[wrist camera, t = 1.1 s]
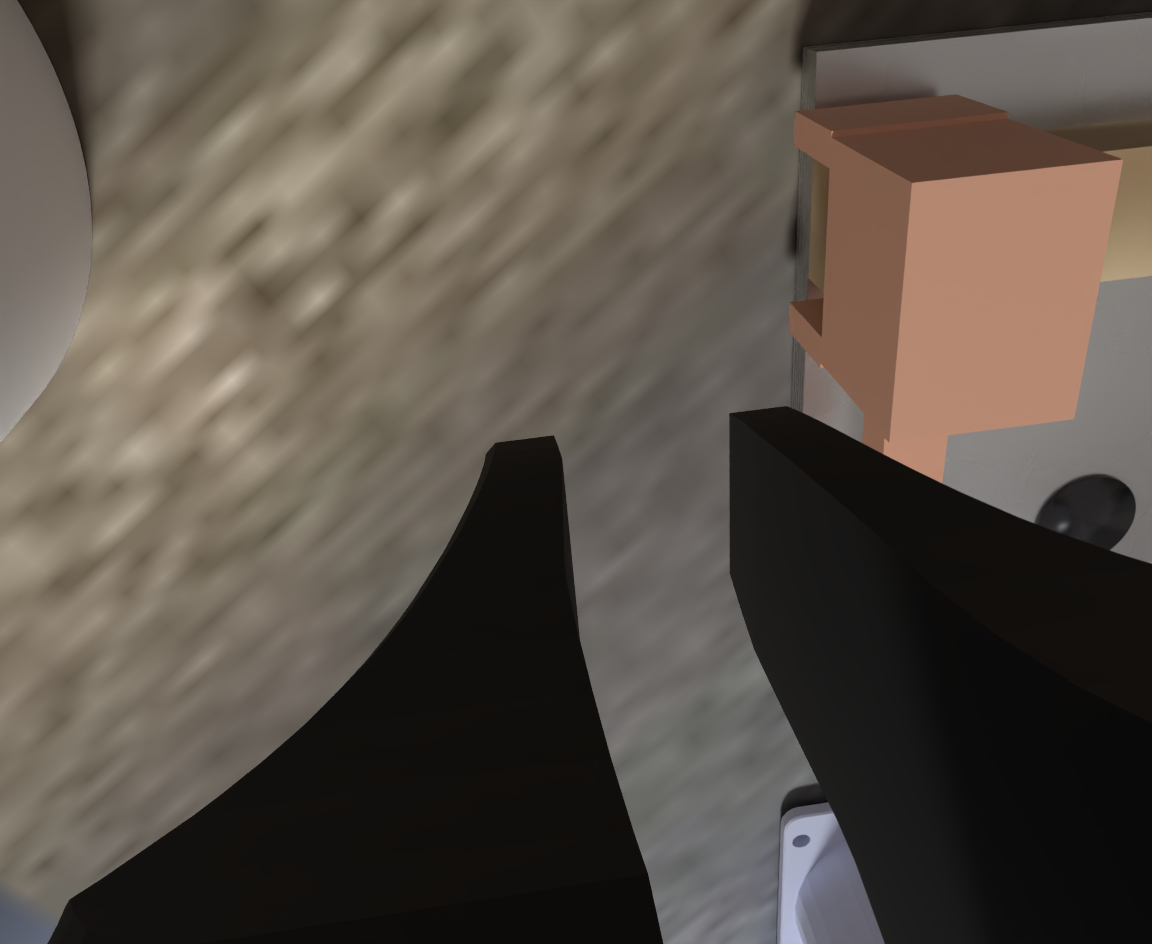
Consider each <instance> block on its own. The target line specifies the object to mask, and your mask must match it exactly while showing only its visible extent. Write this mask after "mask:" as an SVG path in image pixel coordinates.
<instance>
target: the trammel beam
mask: <svg viewBox="0 0 1152 944" xmlns="http://www.w3.org/2000/svg"><path fill="white" fill-rule="evenodd" d="M1042 131H1045V132H1047V133H1050V134H1053V135H1056V136H1059V137H1062V138H1064V139H1067V140H1070V141H1073V142H1076V143H1079V144H1081V145H1084V146H1087V147H1090V148H1093V149H1095V150H1098V151H1101V152H1104V153H1107V154H1110V155H1112V156H1115V157H1118V158H1121V159H1123V164H1122V169H1121V174H1120V180H1119V185H1118V190H1117V196H1116V201H1115V206H1114V211H1113V217H1112V222H1111V227H1110V233H1109V238H1108V243H1107V248H1106V254H1105V259H1104V264H1103V269H1102V275H1101V280H1100V282H1105V281H1113V280H1121V279H1130V278H1138V277H1146V276H1152V118H1149V119H1140V120H1131V121H1121V122H1112V123H1103V124H1094V125H1085V126H1076V127H1066V128H1057V129H1048V130H1042ZM829 172H830V169H829V168H828V167H826V166H825V165H823V164H822V163H820V162H819V161H817V160H815V159H814V158H813V169H812V195H811V221H810V247H809V273H808V278H809V279H810V280H811V281H812V282H813V283H814V284H815V285H816V286H817V287H818V288H819V289H820V290H821V291H822V292H823V293H824V279H825V257H826V236H827V215H828V193H829Z"/></svg>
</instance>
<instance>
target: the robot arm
mask: <svg viewBox="0 0 1152 944" xmlns="http://www.w3.org/2000/svg"><path fill="white" fill-rule="evenodd" d="M729 416H730V575H731V579H732V582H733V585H734V588H735V591H736V595H737V598H738V601H739V604H740V608H741V611H742V614H743V617H744V620H745V623H746V626H747V629H748V632H749V635H750V638H751V641H752V644H753V647H754V650H755V652H756V654H757V656H758V658H759V661H760V663H761V665H762V667H763V669H764V671H765V673H766V675H767V677H768V680H769V682H770V684H771V686H772V688H773V690H774V692H775V694H776V696H777V698H778V700H779V702H780V705H781V707H782V709H783V711H784V713H785V715H786V717H787V719H788V721H789V723H790V725H791V727H792V729H793V731H794V733H795V735H796V737H797V739H798V741H799V743H800V746H801V748H802V750H803V752H804V754H805V756H806V758H807V760H808V762H809V764H810V766H811V768H812V770H813V772H814V774H815V776H816V778H817V780H818V782H819V784H820V786H821V789H822V791H823V793H824V795H825V797H826V799H827V801H828V802H827V803H820V804H814V805H807V806H801V807H796V808H793V809H791V810H789V811H787V812H786V813H785V815H784V816H783V817H782V820H781V834H780V863H779V893H778V922H777V944H1152V564H1151V563H1148V562H1145V561H1141V560H1138V559H1135V558H1132V557H1128V556H1125V555H1122V554H1119V553H1116V552H1113V551H1110V550H1108V549H1105V548H1102V547H1099V546H1096V545H1093V544H1090V543H1087V542H1084V541H1082V540H1079V539H1076V538H1073V537H1070V536H1067V535H1064V534H1061V533H1058V532H1056V531H1053V530H1050V529H1048V528H1045V527H1042V526H1040V525H1037V524H1035V523H1032V522H1029V521H1027V520H1024V519H1022V518H1019V517H1017V516H1015V515H1012V514H1010V513H1008V512H1005V511H1003V510H1001V509H998V508H996V507H994V506H991V505H989V504H987V503H985V502H982V501H980V500H978V499H975V498H973V497H971V496H968V495H966V494H964V493H962V492H959V491H957V490H955V489H953V488H951V487H949V486H947V485H945V484H943V483H940V482H938V481H936V480H934V479H932V478H930V477H928V476H926V475H924V474H922V473H920V472H918V471H916V470H914V469H912V468H910V467H908V466H906V465H904V464H902V463H900V462H898V461H896V460H894V459H892V458H890V457H888V456H886V455H884V454H882V453H880V452H878V451H876V450H875V449H873V448H871V447H869V446H867V445H865V444H863V443H861V442H859V441H857V440H855V439H854V438H852V437H850V436H848V435H846V434H844V433H842V432H840V431H838V430H836V429H835V428H833V427H831V426H829V425H827V424H825V423H823V422H821V421H819V420H817V419H815V418H813V417H811V416H809V415H807V414H804V413H802V412H800V411H798V410H795V409H792V408H790V407H787V406H784V407H776V408H768V409H760V410H753V411H745V412H737V413H729ZM48 944H663V940H662V936H661V931H660V927H659V922H658V917H657V913H656V908H655V904H654V899H653V895H652V890H651V886H650V881H649V876H648V873H647V870H646V867H645V864H644V861H643V858H642V855H641V852H640V849H639V846H638V843H637V840H636V837H635V834H634V831H633V828H632V825H631V822H630V818H629V815H628V812H627V809H626V806H625V802H624V799H623V796H622V793H621V789H620V786H619V783H618V780H617V776H616V773H615V770H614V767H613V763H612V760H611V757H610V753H609V750H608V746H607V742H606V739H605V735H604V731H603V728H602V724H601V720H600V717H599V713H598V709H597V706H596V702H595V698H594V695H593V691H592V687H591V683H590V679H589V675H588V671H587V667H586V663H585V659H584V655H583V651H582V647H581V643H580V637H579V626H578V616H577V606H576V596H575V585H574V575H573V565H572V555H571V544H570V534H569V524H568V514H567V503H566V493H565V483H564V473H563V463H562V457H561V454H560V451H559V448H558V445H557V442H556V440H555V437H554V436H546V437H538V438H530V439H522V440H514V441H506V442H498V443H495V444H494V445H493V446H492V448H491V449H490V450H489V451H488V452H487V453H486V457H485V462H484V466H483V469H482V472H481V475H480V478H479V480H478V483H477V485H476V488H475V490H474V492H473V495H472V497H471V499H470V502H469V504H468V506H467V508H466V510H465V512H464V514H463V516H462V518H461V520H460V522H459V524H458V526H457V528H456V530H455V532H454V534H453V535H452V537H451V539H450V541H449V543H448V545H447V547H446V549H445V550H444V552H443V554H442V555H441V557H440V559H439V560H438V562H437V563H436V565H435V566H434V568H433V570H432V571H431V573H430V574H429V576H428V578H427V579H426V581H425V582H424V584H423V585H422V587H421V589H420V590H419V592H418V593H417V595H416V597H415V598H414V599H413V601H412V602H411V604H410V605H409V607H408V608H407V609H406V611H405V612H404V613H403V615H402V616H401V618H400V619H399V620H398V622H397V623H396V624H395V626H394V627H393V628H392V630H391V631H390V632H389V633H388V635H387V636H386V637H385V638H384V640H383V641H382V642H381V643H380V645H379V646H378V647H377V648H376V649H375V651H374V652H373V653H372V654H371V656H370V657H369V658H368V659H367V660H366V661H365V663H364V664H363V665H362V666H361V667H360V668H359V669H358V670H357V671H356V673H355V674H354V675H353V676H352V677H351V678H350V679H349V680H348V681H347V682H346V683H345V684H344V685H343V687H342V688H341V689H340V690H339V691H338V692H337V693H336V694H335V695H334V696H333V697H332V698H331V699H330V700H329V701H328V702H327V703H326V704H325V705H324V706H323V707H322V708H321V709H320V710H319V711H318V712H317V713H316V714H315V715H314V716H313V717H312V718H311V719H310V720H309V721H308V722H307V723H306V724H305V725H304V726H302V727H301V728H300V729H299V730H298V731H297V732H296V733H295V734H294V735H292V736H291V737H290V738H289V739H288V740H287V741H285V742H284V743H283V744H282V745H281V746H280V747H279V748H277V749H276V750H275V751H274V752H273V753H272V754H271V755H269V756H268V757H267V758H266V759H265V760H264V761H262V762H261V763H260V764H259V765H257V766H256V767H255V768H254V769H252V770H251V771H250V772H249V773H247V774H246V775H245V776H244V777H242V778H241V779H240V780H239V781H238V782H236V783H235V784H234V785H233V786H231V787H230V788H229V789H228V790H226V791H225V792H224V793H223V794H221V795H220V796H219V797H217V798H216V799H215V800H213V801H212V802H211V803H209V804H208V805H207V806H205V807H204V808H203V809H201V810H200V811H199V812H197V813H196V814H195V815H193V816H192V817H191V818H189V819H188V820H186V821H185V822H183V823H182V824H181V825H179V826H178V827H176V828H175V829H173V830H172V831H170V832H169V833H167V834H166V835H165V836H163V837H162V838H160V839H159V840H157V841H156V842H154V843H153V844H152V845H150V846H149V847H147V848H146V849H144V850H143V851H141V852H140V853H139V854H137V855H136V856H134V857H133V858H131V859H130V860H128V861H127V862H125V863H124V864H123V865H121V866H120V867H118V868H117V869H115V870H114V871H112V872H111V873H110V874H108V875H107V876H105V877H104V878H102V879H101V880H99V881H98V882H96V883H95V884H93V885H92V886H90V887H88V888H87V889H85V890H84V891H82V892H81V893H79V894H77V895H76V896H74V897H73V898H71V899H70V900H69V901H68V903H67V905H66V907H65V909H64V911H63V914H62V916H61V918H60V920H59V923H58V925H57V927H56V929H55V931H54V932H53V935H52V936H51V938H50V940H49V942H48Z"/></svg>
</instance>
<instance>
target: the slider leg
mask: <svg viewBox="0 0 1152 944" xmlns="http://www.w3.org/2000/svg"><path fill="white" fill-rule="evenodd" d="M1008 113H1009V112H1007V111H1004V110H1001V109H998V108H995V107H992V106H989V105H986V104H983V103H981V102H978V101H975V100H972V99H969V98H966V97H963V96H960V95H957V94H954V95H945V96H935V97H926V98H916V99H907V100H898V101H888V102H879V103H869V104H860V105H850V106H841V107H831V108H822V109H813V110H803V111H795V133H794V146H795V147H797V148H798V149H800V150H802V151H803V152H805V153H806V154H808V155H809V156H811V157H812V158H814V159H815V160H817V161H819V162H820V163H822V164H823V165H825V166H826V167H828V168H829V169H830V172H829V193H828V215H827V236H826V257H825V279H824V298H820V299H812V300H803V301H795V302H790V304H789V332H790V333H791V334H792V335H793V336H794V337H795V339H796V340H797V341H798V342H799V343H800V345H801V346H802V347H803V348H804V349H805V350H806V352H807V353H808V354H809V355H810V356H811V358H812V359H813V360H814V361H815V362H816V363H817V365H818V366H819V367H820V368H825V369H826V370H827V371H828V372H829V373H830V375H831V376H832V377H833V378H834V379H835V380H836V382H837V383H838V384H839V385H840V386H841V387H842V389H843V390H844V391H845V392H846V393H847V394H848V396H849V397H850V398H851V399H852V400H853V401H854V403H855V404H856V405H857V406H858V407H859V408H860V410H861V411H862V412H863V413H864V423H863V436H862V443H863V444H865V445H867V446H869V447H871V448H873V449H875V450H876V451H878V452H880V453H882V454H884V455H886V456H888V457H890V458H892V459H894V460H896V461H898V462H900V463H902V464H904V465H906V466H908V467H910V468H912V469H914V470H916V471H918V472H920V473H922V474H924V475H926V476H928V477H930V478H932V479H934V480H936V481H938V482H940V483H942V481H943V473H944V465H945V456H946V448H947V440H948V435H956V434H964V433H971V432H979V431H987V430H994V429H1002V428H1010V427H1018V426H1025V425H1033V424H1041V423H1049V422H1056V421H1064V420H1072V419H1074V417H1075V412H1076V407H1077V401H1078V396H1079V391H1080V386H1081V380H1082V375H1083V370H1084V364H1085V359H1086V354H1087V349H1088V343H1089V338H1090V333H1091V327H1092V322H1093V317H1094V312H1095V306H1096V301H1097V296H1098V291H1099V285H1100V280H1101V275H1102V269H1103V264H1104V259H1105V254H1106V248H1107V243H1108V238H1109V233H1110V227H1111V222H1112V217H1113V211H1114V206H1115V201H1116V196H1117V190H1118V185H1119V180H1120V174H1121V169H1122V164H1123V159H1121V158H1118V157H1115V156H1112V155H1110V154H1107V153H1104V152H1101V151H1098V150H1095V149H1093V148H1090V147H1087V146H1084V145H1081V144H1079V143H1076V142H1073V141H1070V140H1067V139H1064V138H1062V137H1059V136H1056V135H1053V134H1050V133H1047V132H1045V131H1042V130H1039V129H1036V128H1033V127H1031V126H1028V125H1025V124H1022V123H1019V122H1016V121H1014V120H1011V119H1008Z"/></svg>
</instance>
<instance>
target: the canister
mask: <svg viewBox="0 0 1152 944" xmlns="http://www.w3.org/2000/svg"><path fill="white" fill-rule="evenodd" d="M91 255H92V213H91V201H90V193H89V185H88V179H87V173H86V167H85V162H84V158H83V153H82V149H81V145H80V141H79V137H78V134H77V130H76V127H75V123H74V120H73V117H72V114H71V111H70V108H69V105H68V102H67V100H66V97H65V95H64V92H63V89H62V87H61V84H60V82H59V80H58V77H57V75H56V72H55V70H54V68H53V66H52V64H51V61H50V59H49V57H48V55H47V53H46V51H45V49H44V47H43V45H42V43H41V41H40V39H39V37H38V35H37V33H36V32H35V30H34V28H33V26H32V24H31V22H30V21H29V19H28V17H27V16H26V14H25V12H24V11H23V9H22V7H21V5H20V4H19V2H18V1H17V0H0V443H1V441H2V440H3V439H4V438H5V437H6V435H7V434H8V433H9V432H10V431H11V429H12V428H13V427H14V426H15V425H16V423H17V422H18V421H19V420H20V419H21V417H22V416H23V415H24V414H25V413H26V411H27V410H28V409H29V408H30V407H31V405H32V404H33V403H34V402H35V400H36V399H37V398H38V397H39V396H40V394H41V393H42V392H43V390H44V389H45V388H46V386H47V385H48V383H49V382H50V380H51V379H52V377H53V376H54V374H55V373H56V371H57V369H58V367H59V366H60V364H61V362H62V360H63V358H64V356H65V354H66V352H67V350H68V348H69V346H70V344H71V341H72V339H73V336H74V334H75V331H76V329H77V326H78V323H79V320H80V316H81V313H82V309H83V306H84V301H85V297H86V293H87V287H88V282H89V275H90V267H91Z"/></svg>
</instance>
